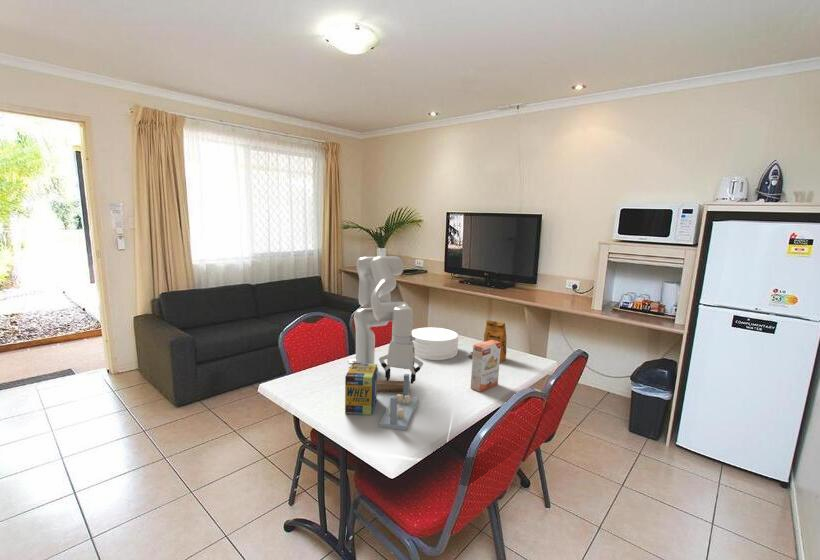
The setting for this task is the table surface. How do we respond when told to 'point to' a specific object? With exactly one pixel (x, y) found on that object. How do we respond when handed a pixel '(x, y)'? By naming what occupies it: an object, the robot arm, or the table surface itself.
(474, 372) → the cracker box
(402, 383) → the board
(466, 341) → the table surface
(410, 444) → the table surface
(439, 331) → the plate stack
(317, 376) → the table surface
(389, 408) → the stand
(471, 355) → the house of cards
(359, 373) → the protein box
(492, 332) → the coffee package
